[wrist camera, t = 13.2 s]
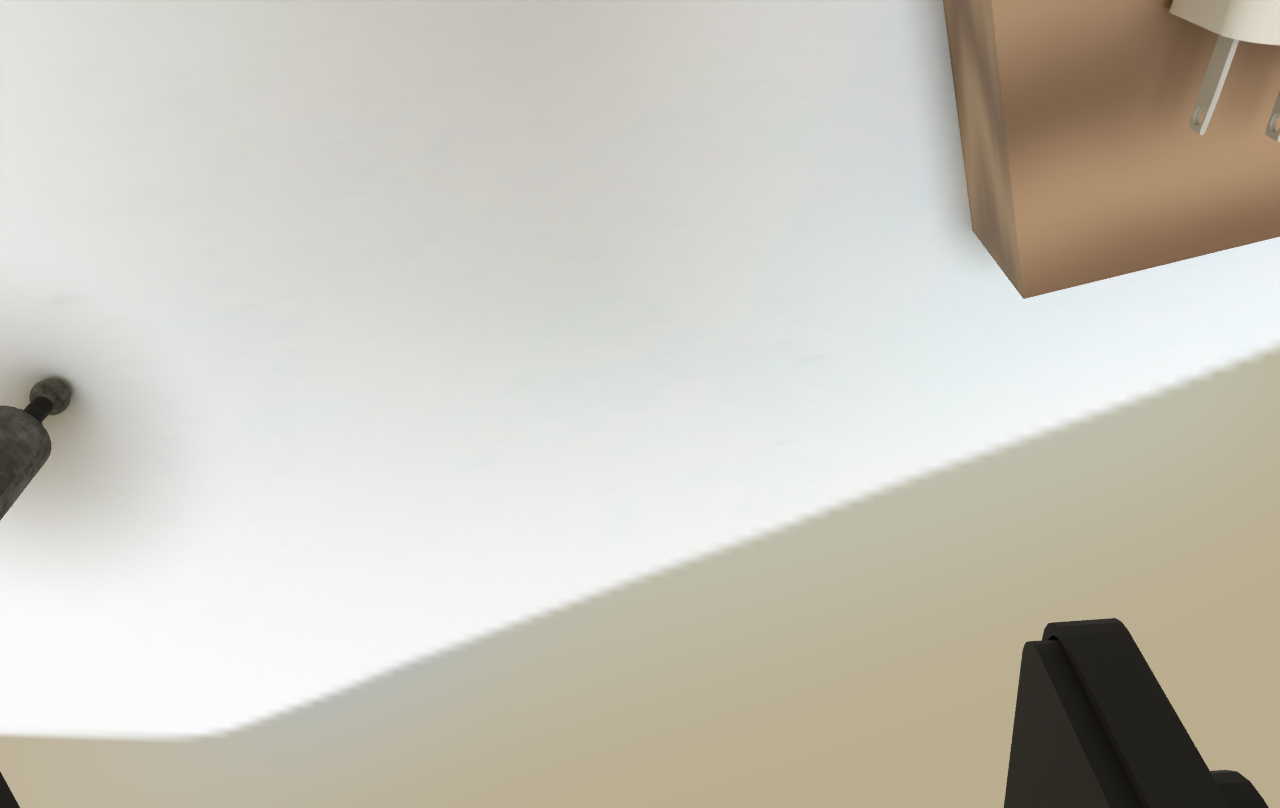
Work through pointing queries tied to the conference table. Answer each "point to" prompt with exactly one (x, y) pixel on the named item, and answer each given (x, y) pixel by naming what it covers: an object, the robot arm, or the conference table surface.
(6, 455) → the microphone
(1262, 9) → the usb wall charger
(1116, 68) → the walnut block
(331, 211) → the conference table surface
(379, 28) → the conference table surface
